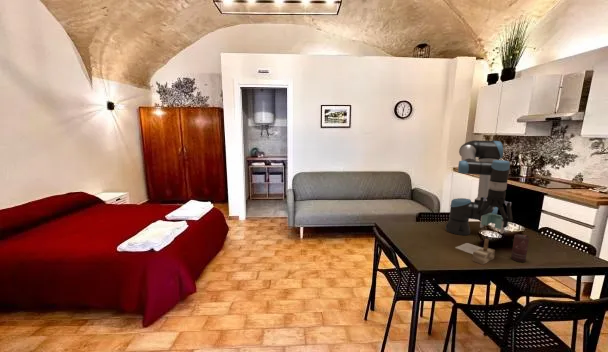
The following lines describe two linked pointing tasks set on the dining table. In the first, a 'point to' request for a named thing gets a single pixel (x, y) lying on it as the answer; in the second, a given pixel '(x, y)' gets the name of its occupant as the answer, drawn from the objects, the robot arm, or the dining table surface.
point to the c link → (492, 220)
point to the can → (520, 247)
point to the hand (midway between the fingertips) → (491, 229)
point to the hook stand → (483, 254)
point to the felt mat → (468, 248)
